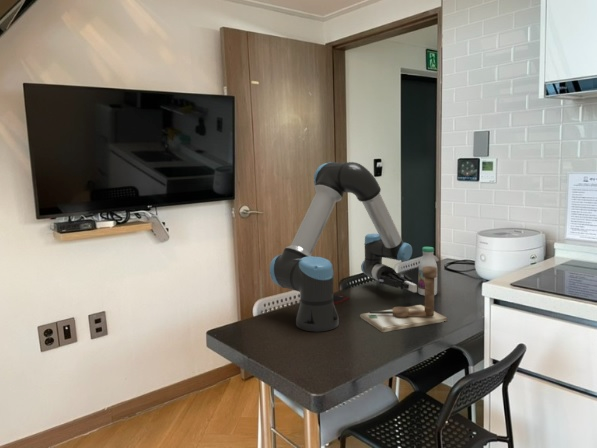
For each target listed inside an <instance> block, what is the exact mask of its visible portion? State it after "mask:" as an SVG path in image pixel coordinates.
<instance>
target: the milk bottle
mask: <svg viewBox="0 0 597 448" xmlns="http://www.w3.org/2000/svg"><path fill="white" fill-rule="evenodd" d="M421 250H422V251H421V252H422V257H421V259H420V261H419V264H418V276H417V277H418V279H417V283H418V285H417V293H418V294H419V295H421V296H424V297H425V277H423V267H426V266H432V267H436V268H437V269H438V264H437V262H436V259H435V256H434V253H435V248H434V247H432V246H423V247H422V249H421ZM437 294H438V276H437V277H436V278H434V296H436V295H437Z"/></svg>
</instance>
